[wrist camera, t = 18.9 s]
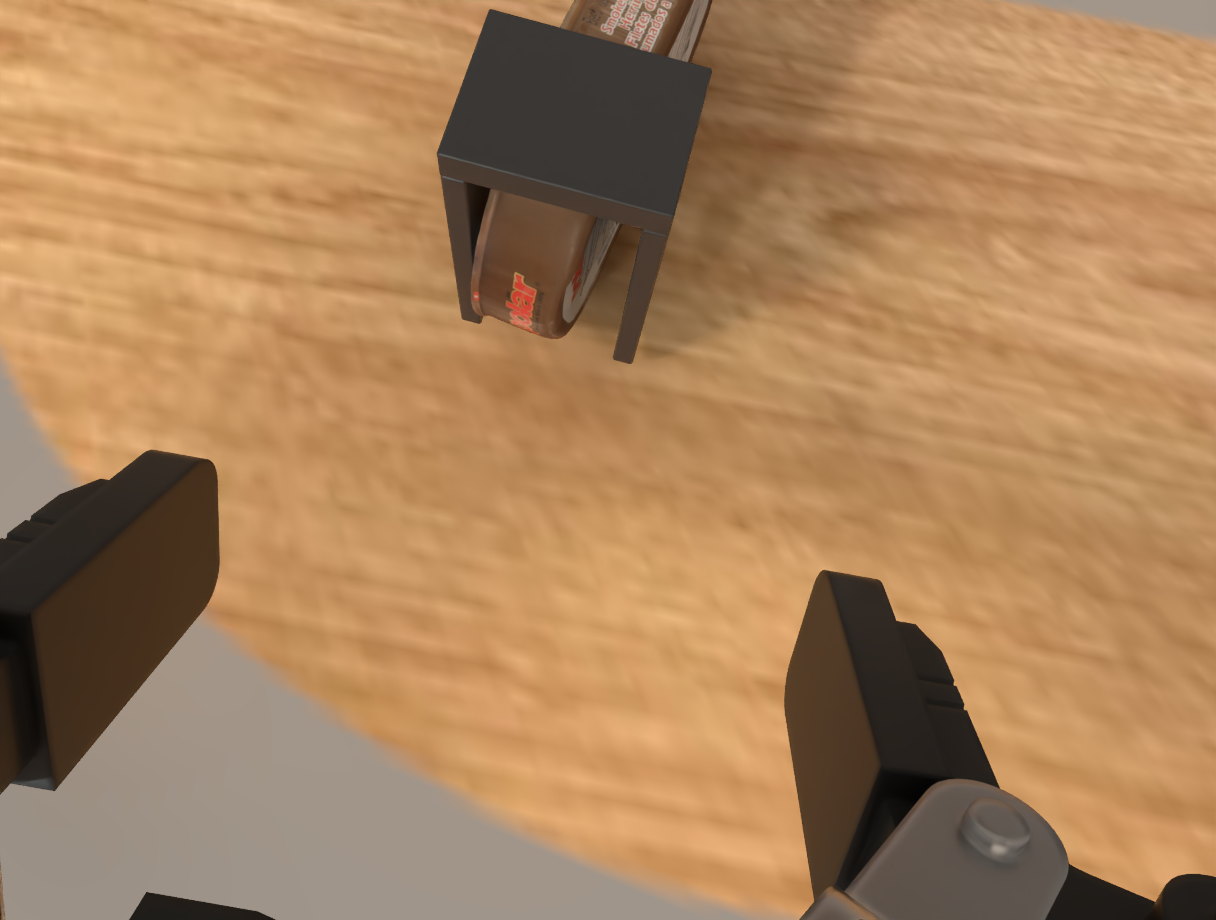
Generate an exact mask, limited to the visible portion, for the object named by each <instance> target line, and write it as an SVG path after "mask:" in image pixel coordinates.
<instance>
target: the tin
mask: <svg viewBox="0 0 1216 920" xmlns="http://www.w3.org/2000/svg"><path fill="white" fill-rule="evenodd" d="M711 4H712V0H574V2H573V4H572V6H571V8H570V10H569V11H568V13H567V15H566V17H565V19H564V21H563V23H562V25H561V27H560V28H562V29H566V30H570V31H574V32H577V33H581V34H585V35H588V36H592V37H596V38H600V39H603V40H607V41H611V42H614V43H618V44H622V45H626V46H629V47H633V48H637V49H640V50H644V51H648V52H652V53H655V54H659V55H663V56H666V57H670V58H674V59H678V60H681V61H685V62H689V63H691V61H692V58H693V56H694V53H695V50H696V48H697V45H698V42H699V39H700V37H701V34H702V31H703V28H704V25H705V22H706V20H707V17H708V14H709V11H710V7H711ZM621 225H622V224H621V223H618V222H614V221H610V220H606V219H603V218H599V217H595V216H592V215H588V214H584V213H580V212H577V211H573V210H569V209H565V208H562V207H558V206H554V205H550V204H547V203H543V202H539V201H535V200H532V199H528V198H524V197H521V196H517V195H513V194H509V193H506V192H502V191H498V190H494V189H491V190H490V193H489V197H488V201H487V204H486V208H485V211H484V215H483V219H482V223H481V228H480V232H479V235H478V240H477V245H476V250H475V257H474V263H473V270H472V279H471V303H472V307H473V309H474V311H475V312H476V313H477V314H478V315H480V316H488V315H489V316H492V317H494V318H497V319H499V320H502V321H504V322H507V323H509V324H511V325H514V326H516V327H519V328H521V329H524V330H526V331H529V332H531V333H534V334H537V335H540V336H542V337H546V338H550V339H558V338H562V337H563V336H565V335H566V334H567V333H568V332H569V331H570V329H571V328H572V326H573V325H574V323H575V322H576V320H577V318H578V317H579V315H580V313H581V311H582V309H583V307H584V305H585V303H586V301H587V299H588V297H589V295H590V293H591V291H592V288H593V286H594V284H595V282H596V280H597V278H598V276H599V273H600V271H601V269H602V267H603V264H604V262H605V260H606V258H607V256H608V253H609V251H610V249H611V247H612V245H613V243H614V241H615V238H616V236H617V234H618V232H619V230H620V227H621Z"/></svg>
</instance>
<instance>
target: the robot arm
mask: <svg viewBox="0 0 1216 920" xmlns="http://www.w3.org/2000/svg"><path fill="white" fill-rule="evenodd" d="M219 561H220V557H219V518H218V480H217V472H216V468H215V466H214V464H213V463H212V462H211V461H210V460H208V459H203V458H197V457H191V456H186V455H180V454H174V453H169V452H163V451H157V450H149V451H146V452H145V453H143V454H142V455H141V456H139V457H138V458H137V459H136V460H134V461H133V462H132V463H130V464H129V465H128V466H127V467H125V468H124V469H123V470H122V471H120V472H119V473H118V474H116V475H115V476H114V477H113V478H111V479H110V480H105V479H99V480H96V481H93V482H91V483H88V484H86V485H83V486H80V487H78V488H75V489H73V490H70V491H68V492H65V493H62V494H60V495H58V496H57V497H56V498H54V499H53V500H52V501H50V502H49V503H48V504H46V505H45V506H44V507H42V508H41V509H40V510H38V511H37V512H36V513H34V514H33V515H32V516H31V519H30V521H28V520H25V521H24V522H22V523H21V524H20V525H18V526H17V527H15V528H14V529H13V530H12V531H10V532H9V533H8V534H7V538H6V539H3V538H1V539H0V794H1V793H2V792H3V791H4V790H5V789H6V788H7V787H8V785H9V784H10V783H12V784H17V785H23V786H29V787H34V788H41V789H46V790H52V791H55V790H56V789H57V788H58V786H59V785H60V784H61V783H62V781H63V780H64V779H65V778H66V777H67V775H68V774H69V773H70V772H71V770H72V769H73V768H74V767H75V766H76V764H77V763H78V762H79V761H80V759H81V758H82V757H83V756H84V755H85V753H86V752H87V751H88V750H89V749H90V747H91V746H92V745H93V744H94V742H95V741H96V740H97V739H98V738H99V736H100V735H101V734H102V733H103V732H104V730H105V729H106V728H107V727H108V726H109V724H110V723H111V722H112V721H113V719H114V718H115V717H116V716H117V714H118V713H119V712H120V711H121V710H122V708H123V707H124V706H125V705H126V704H127V702H128V701H129V700H130V699H131V698H132V696H133V695H134V694H135V693H136V692H137V690H138V689H139V688H140V687H141V685H142V684H143V683H144V682H145V681H146V679H147V678H148V677H149V676H150V674H151V673H152V672H153V671H154V670H155V668H156V667H157V666H158V665H159V664H160V662H161V661H162V660H163V659H164V657H165V656H166V655H167V654H168V653H169V651H170V650H171V649H172V647H174V645H175V644H176V643H177V642H178V640H179V639H180V638H181V637H182V636H183V634H184V633H185V632H186V631H187V630H188V628H189V627H190V626H191V625H192V623H193V622H194V621H195V620H196V619H197V617H198V616H199V615H200V614H201V613H202V611H203V610H204V609H205V607H206V606H207V604H208V602H209V601H210V599H211V596H212V594H213V591H214V589H215V586H216V582H217V578H218V573H219ZM953 683H954V679H953V677H952V674H951V672H950V670H949V667H948V665H947V663H946V660H945V658H944V656H943V653H942V651H941V650H940V649H939V648H938V647H937V646H936V645H935V644H934V643H933V642H932V641H931V640H930V639H929V638H928V637H927V636H926V635H925V634H924V633H923V632H922V631H921V630H920V629H919V628H918V626H917V625H916V624H911V623H905V622H899V621H896V619H895V616H894V613H893V611H892V608H891V605H890V602H889V600H888V597H887V594H886V592H885V589H884V586H883V584H882V582H881V581H880V580H878V579H872V578H866V577H861V576H855V575H850V574H844V573H838V572H833V571H827V570H822V571H821V572H820V573H819V575H818V577H817V579H816V581H815V583H814V586H813V589H812V593H811V596H810V599H809V602H808V606H807V609H806V612H805V615H804V618H803V622H802V625H801V628H800V631H799V635H798V638H797V641H796V644H795V648H794V651H793V654H792V657H791V661H790V664H789V668H788V672H787V678H786V685H785V697H784V707H785V717H786V723H787V729H788V736H789V742H790V749H791V755H792V761H793V768H794V774H795V780H796V787H797V793H798V800H799V806H800V812H801V819H802V825H803V832H804V838H805V844H806V851H807V857H808V864H809V870H810V876H811V883H812V889H813V895H814V903H813V904H812V905H811V906H810V908H809V909H808V910H807V911H806V912H805V914H804V915H803V916H802V917H801V918H800V920H1216V877H1213V876H1208V875H1201V874H1185V875H1180V876H1177V877H1175V878H1173V879H1171V880H1170V881H1169V882H1168V883H1167V884H1166V885H1165V887H1164V889H1163V890H1162V892H1161V894H1160V895H1159V897H1158V899H1157V900H1156V902H1154V901H1151V900H1149V899H1147V898H1144V897H1142V896H1140V895H1137V894H1135V893H1132V892H1130V891H1128V890H1125V889H1123V888H1121V887H1118V886H1116V885H1113V884H1111V883H1109V882H1106V881H1104V880H1101V879H1099V878H1097V877H1094V876H1092V875H1090V874H1088V873H1086V872H1083V871H1081V870H1079V869H1077V868H1075V867H1073V866H1072V865H1070V864H1069V862H1068V858H1067V853H1066V851H1065V848H1064V846H1063V844H1062V842H1061V840H1060V838H1059V837H1058V835H1057V834H1056V832H1055V831H1054V830H1053V828H1052V827H1051V826H1050V825H1049V824H1048V822H1047V821H1046V820H1045V819H1044V818H1043V817H1041V816H1040V815H1039V814H1038V813H1037V812H1036V811H1035V810H1034V809H1032V808H1031V807H1030V806H1029V805H1027V804H1026V803H1024V802H1023V801H1021V800H1020V799H1018V798H1017V797H1015V796H1013V795H1011V794H1009V793H1008V792H1006V791H1004V790H1001V789H1000V787H999V785H998V783H997V780H996V778H995V776H994V773H993V771H992V768H991V766H990V764H989V761H988V759H987V757H986V754H985V752H984V750H983V747H982V745H981V743H980V740H979V738H978V736H977V733H976V731H975V729H974V726H973V724H972V721H971V719H970V717H969V714H968V712H967V710H964V703H963V700H962V698H961V696H960V693H959V691H958V689H957V686H954V685H953ZM0 920H5V913H4V900H3V888H2V877H1V865H0ZM129 920H275V919H273V918H271V917H269V916H266V915H264V914H262V913H260V912H257V911H251V910H246V909H240V908H234V907H229V906H223V905H217V904H212V903H206V902H200V901H195V900H189V899H183V898H177V897H171V896H165V895H160V894H154V893H148V892H146V894H145V895H144V897H143V898H142V900H141V902H140V904H139V905H138V907H137V908H136V910H135V912H134V913H133V915H132V916H131V918H130V919H129Z"/></svg>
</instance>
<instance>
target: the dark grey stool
mask: <svg viewBox="0 0 1216 920" xmlns="http://www.w3.org/2000/svg"><path fill="white" fill-rule="evenodd" d="M711 73H712V69H711V68H707V67H704V66H700V65H696V64H692V63H689V62H685V61H681V60H678V59H674V58H670V57H666V56H663V55H659V54H655V53H652V52H648V51H644V50H640V49H637V48H633V47H629V46H626V45H622V44H618V43H614V42H611V41H607V40H603V39H600V38H596V37H592V36H588V35H585V34H581V33H577V32H574V31H570V30H566V29H562V28H559V27H555V26H551V25H548V24H544V23H540V22H536V21H533V20H529V19H525V18H522V17H518V16H514V15H510V14H507V13H503V12H499V11H496V10H492V9H490V10H489V12H488V14H487V17H486V20H485V23H484V25H483V28H482V31H481V34H480V36H479V39H478V42H477V44H476V47H475V50H474V53H473V55H472V58H471V61H470V64H469V66H468V69H467V72H466V75H465V77H464V80H463V83H462V86H461V88H460V91H459V94H458V97H457V99H456V102H455V105H454V108H453V110H452V113H451V116H450V118H449V121H448V124H447V127H446V129H445V132H444V135H443V138H442V140H441V143H440V146H439V149H438V151H437V157H438V164H439V171H440V175H441V182H442V189H443V195H444V202H445V209H446V215H447V222H448V229H449V236H450V242H451V249H452V256H453V262H454V269H455V276H456V283H457V289H458V296H459V303H460V309H461V316H462V319H463V320H467V321H470V322H474V323H478V324H480V323H481V322H482V319H483V316H480V315H478V314H477V313H476V312H475V311H474V309H473V307H472V303H471V279H472V270H473V263H474V257H475V250H476V245H477V240H478V235H479V232H480V228H481V223H482V219H483V215H484V211H485V208H486V204H487V201H488V197H489V193H490V190H491V189H494V190H498V191H502V192H506V193H509V194H513V195H517V196H521V197H524V198H528V199H532V200H535V201H539V202H543V203H547V204H550V205H554V206H558V207H562V208H565V209H569V210H573V211H577V212H580V213H584V214H588V215H592V216H595V217H599V218H603V219H606V220H610V221H614V222H618V223H621V224H625V225H629V226H633V227H636V228H640V229H642V232H641V237H640V241H639V246H638V250H637V254H636V259H635V263H634V267H633V272H632V276H631V280H630V285H629V289H628V294H627V298H626V302H625V307H624V311H623V315H622V320H621V324H620V329H619V333H618V337H617V342H616V346H615V350H614V355H613V359H614V360H617V361H621V362H624V363H628V364H632V362H633V359H634V356H635V352H636V349H637V345H638V342H639V338H640V335H641V331H642V328H643V324H644V321H645V317H646V314H647V310H648V307H649V303H650V300H651V296H652V293H653V289H654V285H655V282H656V278H657V275H658V271H659V268H660V264H661V261H662V257H663V254H664V250H665V247H666V243H667V240H668V236H669V233H670V229H671V226H672V222H673V219H674V215H675V211H676V207H677V203H678V200H679V196H680V192H681V188H682V184H683V180H684V177H685V173H686V169H687V165H688V161H689V158H690V154H691V150H692V146H693V142H694V138H695V135H696V131H697V127H698V123H699V119H700V115H701V112H702V108H703V104H704V100H705V96H706V92H707V89H708V85H709V81H710V77H711Z"/></svg>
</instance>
